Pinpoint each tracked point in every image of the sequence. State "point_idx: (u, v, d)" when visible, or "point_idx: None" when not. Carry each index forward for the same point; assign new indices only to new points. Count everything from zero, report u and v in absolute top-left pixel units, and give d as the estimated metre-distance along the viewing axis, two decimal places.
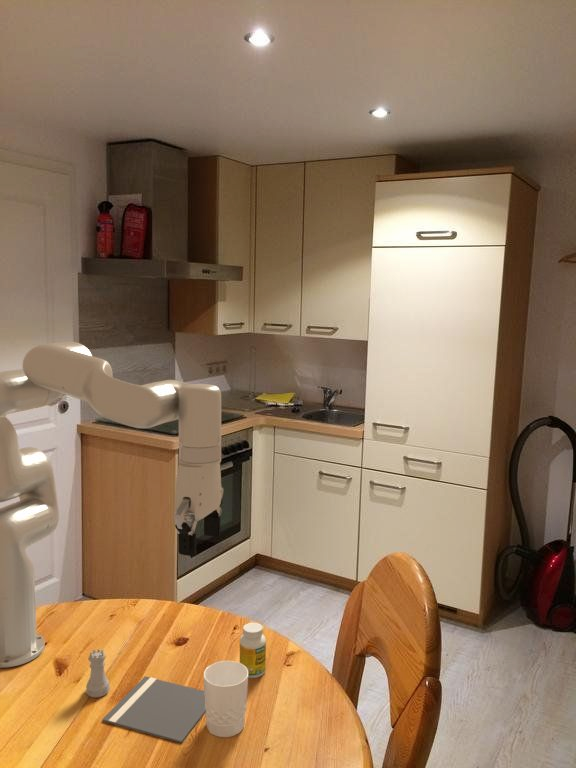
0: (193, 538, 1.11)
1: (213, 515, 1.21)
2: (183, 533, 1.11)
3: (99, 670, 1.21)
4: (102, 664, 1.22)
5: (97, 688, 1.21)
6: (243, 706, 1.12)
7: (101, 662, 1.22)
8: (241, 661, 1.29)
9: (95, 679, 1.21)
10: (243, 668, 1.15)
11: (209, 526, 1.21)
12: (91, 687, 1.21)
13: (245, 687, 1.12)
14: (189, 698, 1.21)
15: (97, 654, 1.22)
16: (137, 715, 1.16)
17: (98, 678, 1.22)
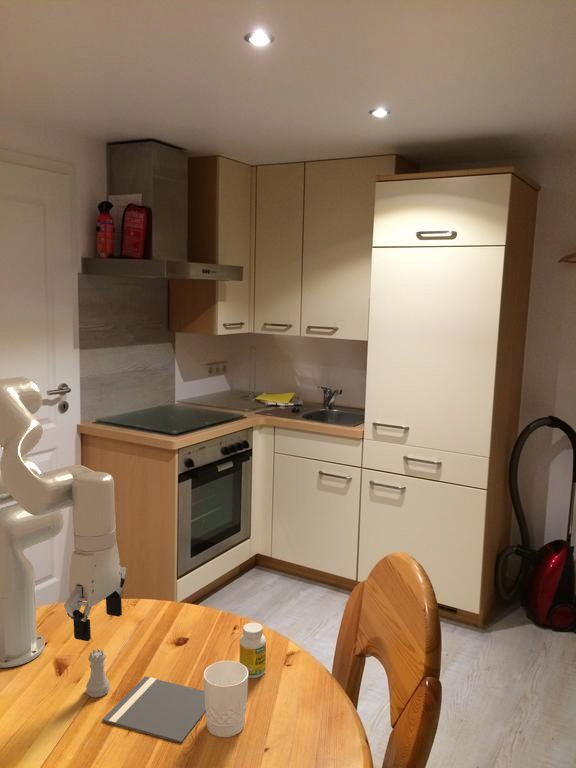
0: (87, 624, 1.15)
1: (114, 595, 1.25)
2: (76, 619, 1.15)
3: (99, 670, 1.21)
4: (102, 664, 1.22)
5: (97, 688, 1.21)
6: (243, 706, 1.12)
7: (101, 662, 1.22)
8: (241, 661, 1.29)
9: (95, 679, 1.21)
10: (243, 668, 1.15)
11: (111, 606, 1.25)
12: (91, 687, 1.21)
13: (245, 687, 1.12)
14: (189, 698, 1.21)
15: (97, 654, 1.22)
16: (137, 715, 1.16)
17: (98, 678, 1.22)
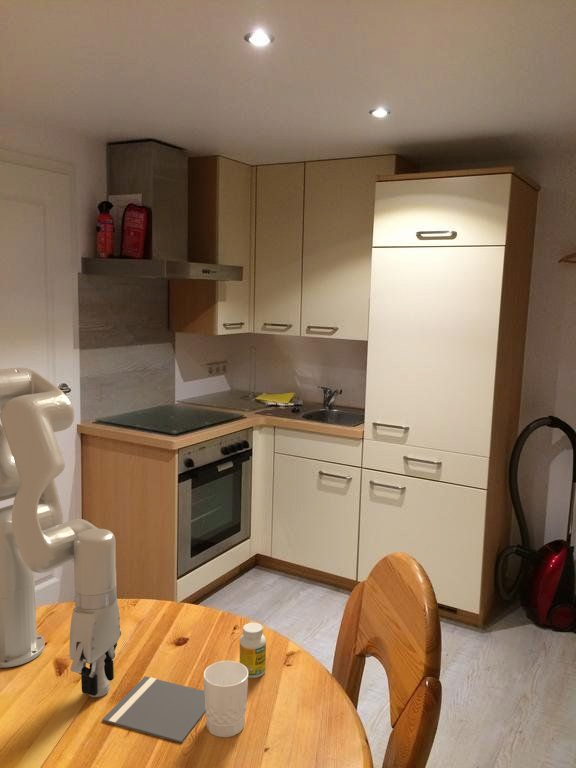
0: (94, 679, 1.19)
1: (106, 660, 1.24)
2: (84, 675, 1.19)
3: (99, 670, 1.21)
4: (102, 664, 1.22)
5: None
6: (243, 706, 1.12)
7: (101, 662, 1.22)
8: (241, 661, 1.29)
9: None
10: (243, 668, 1.15)
11: None
12: None
13: (245, 687, 1.12)
14: (189, 698, 1.21)
15: None
16: (137, 715, 1.16)
17: (98, 678, 1.22)
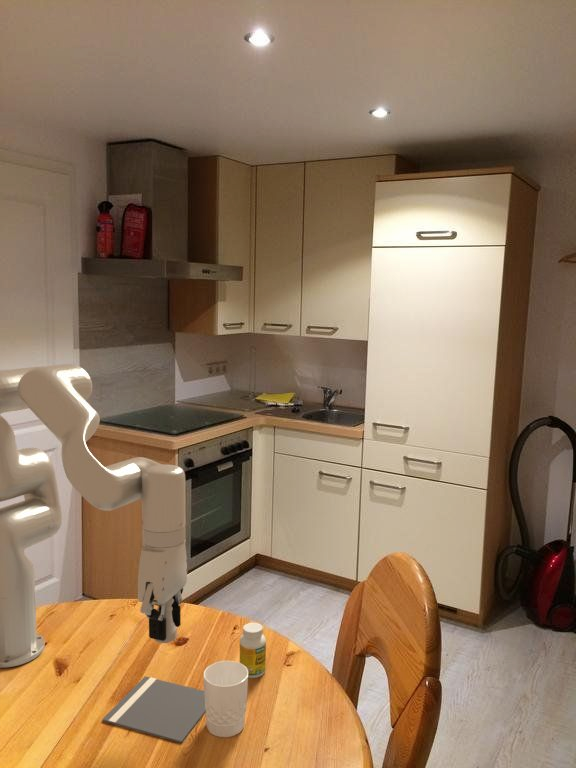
0: (163, 623, 1.13)
1: (173, 605, 1.18)
2: (153, 619, 1.12)
3: (167, 614, 1.15)
4: (170, 608, 1.15)
5: None
6: (243, 706, 1.12)
7: (169, 606, 1.15)
8: (241, 661, 1.29)
9: None
10: (243, 668, 1.15)
11: None
12: None
13: (245, 687, 1.12)
14: (189, 698, 1.21)
15: None
16: (137, 715, 1.16)
17: (167, 622, 1.15)
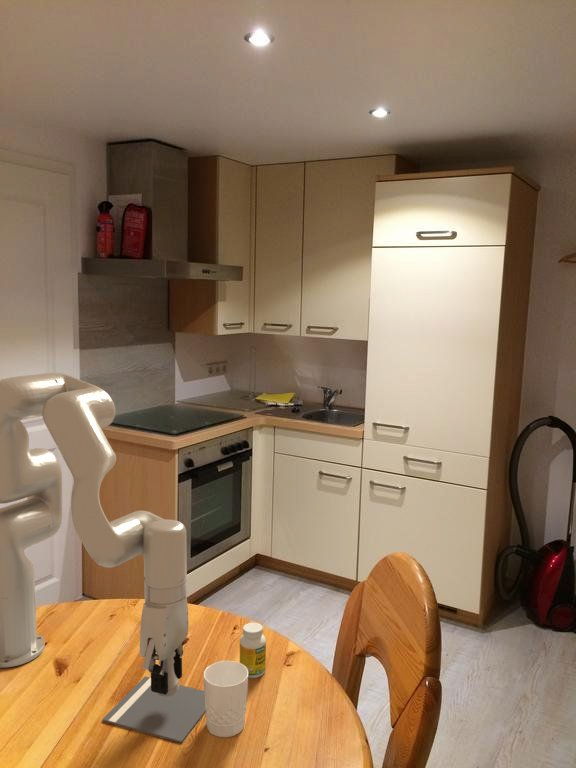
0: (165, 677, 1.14)
1: (174, 657, 1.19)
2: (155, 673, 1.13)
3: (168, 668, 1.16)
4: (172, 661, 1.16)
5: None
6: (243, 706, 1.12)
7: (171, 659, 1.16)
8: (241, 661, 1.29)
9: None
10: (243, 668, 1.15)
11: None
12: None
13: (245, 687, 1.12)
14: (189, 698, 1.21)
15: None
16: (137, 715, 1.16)
17: (168, 676, 1.16)
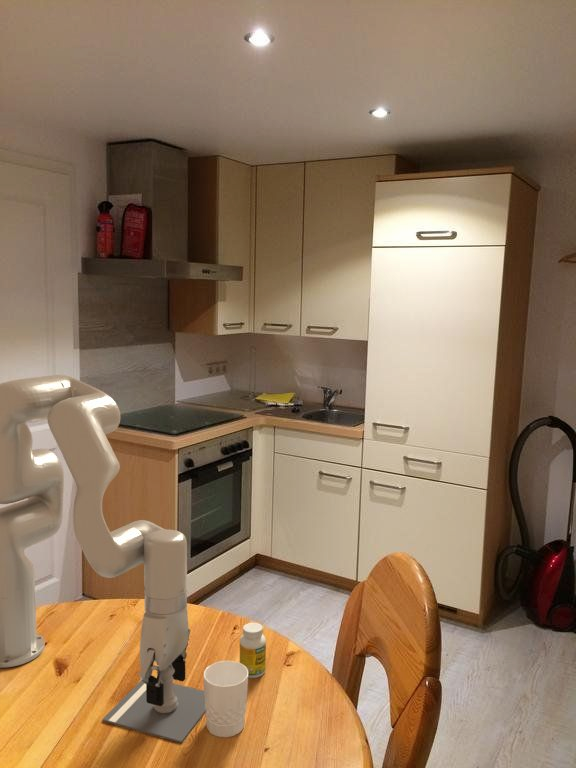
0: (160, 689, 1.13)
1: (178, 660, 1.21)
2: (150, 685, 1.12)
3: (168, 685, 1.17)
4: (171, 678, 1.17)
5: (166, 703, 1.16)
6: (243, 706, 1.12)
7: (170, 676, 1.17)
8: (241, 661, 1.29)
9: (165, 694, 1.16)
10: (243, 668, 1.15)
11: None
12: None
13: (245, 687, 1.12)
14: (189, 698, 1.21)
15: (166, 668, 1.17)
16: (137, 715, 1.16)
17: (167, 693, 1.17)
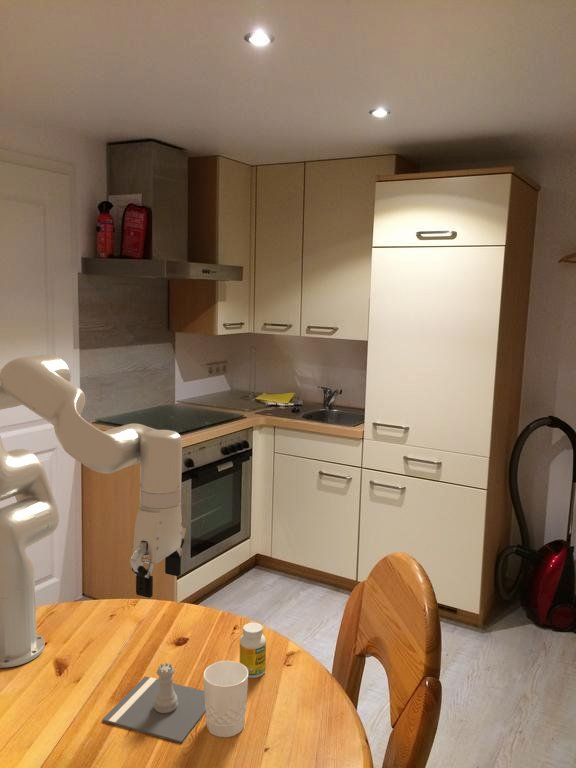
0: (149, 580, 1.15)
1: (174, 555, 1.24)
2: (140, 575, 1.15)
3: (168, 685, 1.17)
4: (171, 678, 1.17)
5: (166, 703, 1.16)
6: (243, 706, 1.12)
7: (170, 676, 1.17)
8: (241, 661, 1.29)
9: (164, 695, 1.16)
10: (243, 668, 1.15)
11: (170, 565, 1.25)
12: (160, 702, 1.16)
13: (245, 687, 1.12)
14: (189, 698, 1.21)
15: (166, 668, 1.17)
16: (137, 715, 1.16)
17: (167, 693, 1.17)
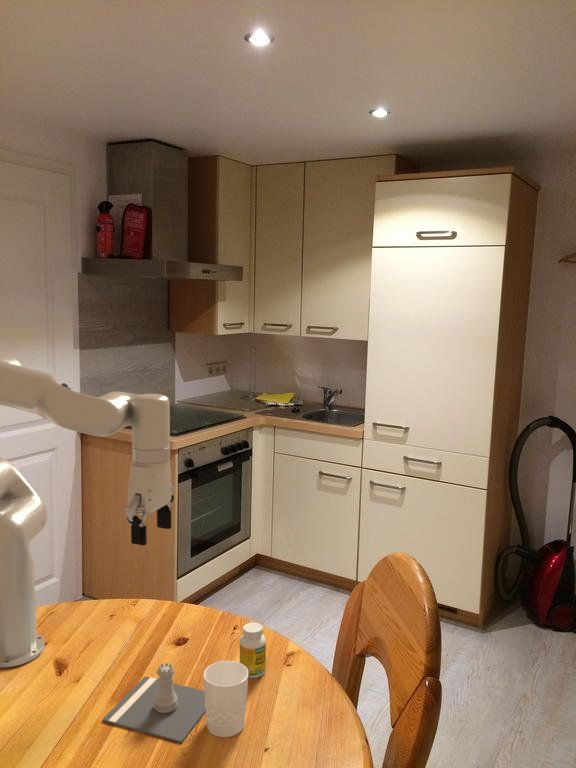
0: (143, 529, 1.27)
1: (165, 510, 1.36)
2: (134, 525, 1.26)
3: (168, 685, 1.17)
4: (171, 678, 1.17)
5: (166, 703, 1.16)
6: (243, 706, 1.12)
7: (170, 676, 1.17)
8: (241, 661, 1.29)
9: (165, 694, 1.16)
10: (243, 668, 1.15)
11: (161, 519, 1.37)
12: (160, 702, 1.16)
13: (245, 687, 1.12)
14: (189, 698, 1.21)
15: (166, 668, 1.17)
16: (137, 715, 1.16)
17: (167, 693, 1.17)
